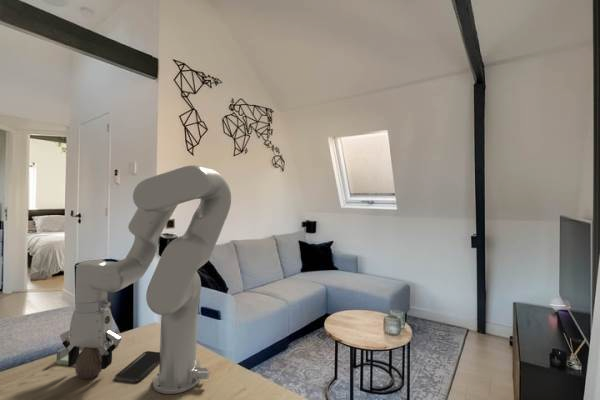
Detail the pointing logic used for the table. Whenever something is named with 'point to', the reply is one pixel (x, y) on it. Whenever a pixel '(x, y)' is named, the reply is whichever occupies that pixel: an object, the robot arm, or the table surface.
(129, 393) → the table surface
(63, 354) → the grey-green shallow square tray
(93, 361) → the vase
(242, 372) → the table surface
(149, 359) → the phone
